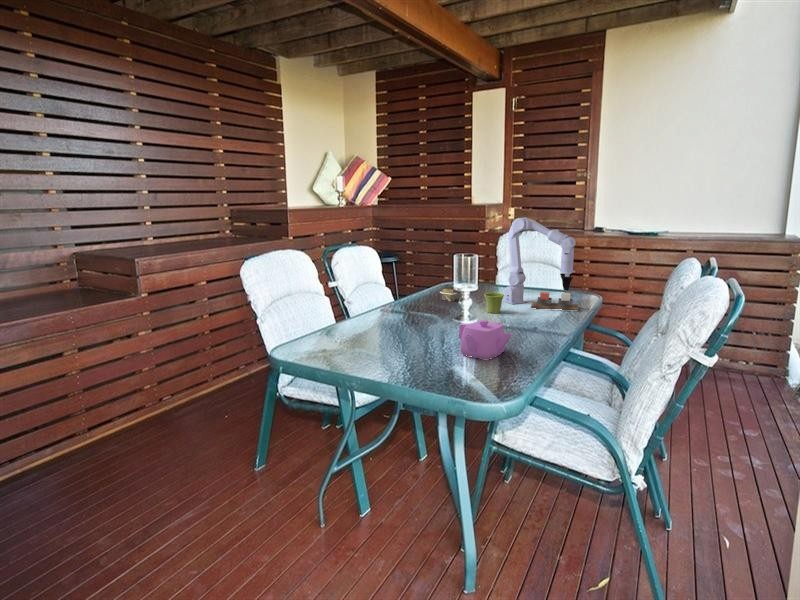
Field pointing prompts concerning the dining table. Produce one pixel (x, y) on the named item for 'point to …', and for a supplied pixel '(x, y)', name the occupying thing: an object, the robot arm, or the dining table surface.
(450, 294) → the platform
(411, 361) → the dining table surface
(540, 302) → the block
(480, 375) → the dining table surface
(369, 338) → the dining table surface
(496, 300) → the plant pot
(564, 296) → the cream button
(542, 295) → the red button
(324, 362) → the dining table surface
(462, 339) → the teakettle
